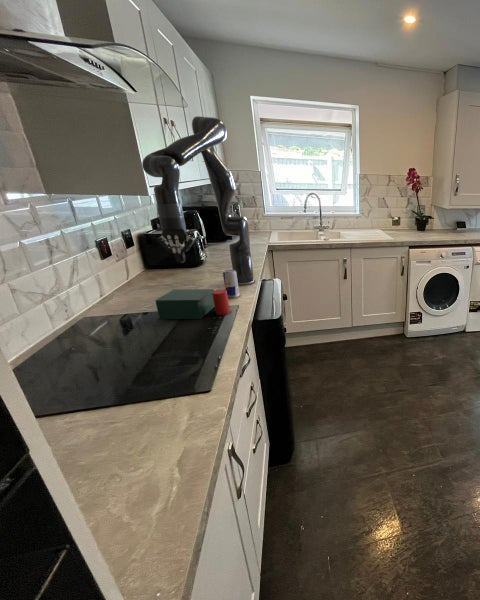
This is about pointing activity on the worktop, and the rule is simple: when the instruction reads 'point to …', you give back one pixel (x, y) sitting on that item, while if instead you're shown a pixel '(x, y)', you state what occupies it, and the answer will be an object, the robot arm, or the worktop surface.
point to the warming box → (185, 309)
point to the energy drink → (231, 283)
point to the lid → (185, 295)
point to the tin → (221, 302)
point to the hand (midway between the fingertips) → (181, 262)
